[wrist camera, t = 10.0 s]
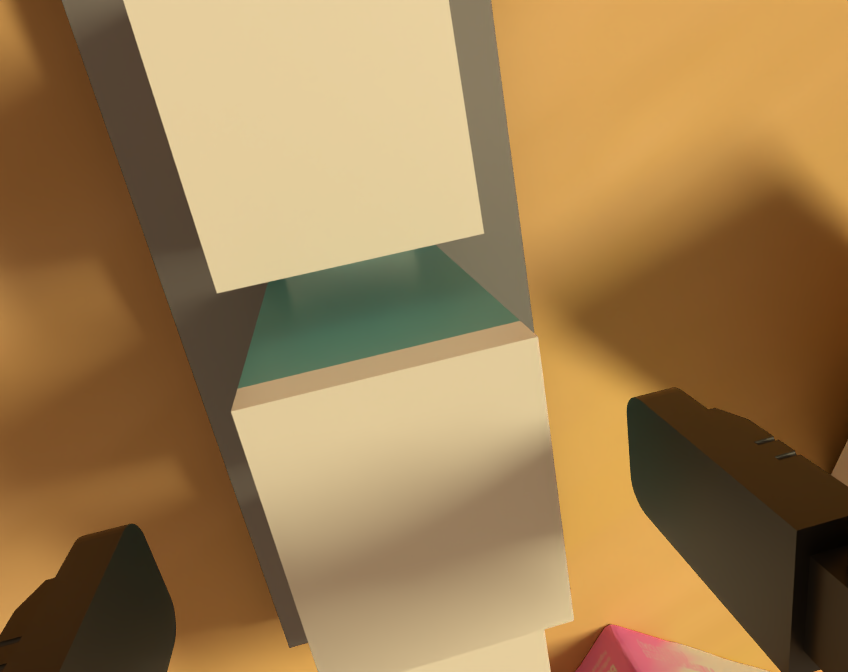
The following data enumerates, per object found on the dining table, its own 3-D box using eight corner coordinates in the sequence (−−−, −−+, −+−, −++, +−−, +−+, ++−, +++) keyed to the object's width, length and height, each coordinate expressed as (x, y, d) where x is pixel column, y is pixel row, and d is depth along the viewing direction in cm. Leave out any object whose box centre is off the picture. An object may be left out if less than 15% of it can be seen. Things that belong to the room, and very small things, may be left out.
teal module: (268, 280, 16) (230, 411, 8) (433, 243, 16) (537, 336, 9) (319, 457, 18) (326, 694, 10) (465, 420, 18) (574, 621, 11)
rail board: (51, -85, 14) (-177, -276, 8) (454, -146, 15) (564, -362, 9) (290, 614, 22) (282, 827, 15) (549, 542, 23) (647, 710, 16)
